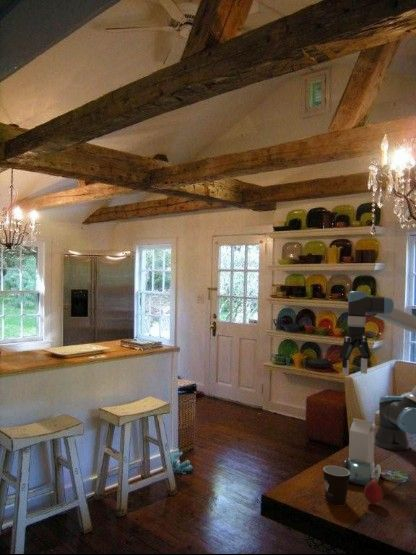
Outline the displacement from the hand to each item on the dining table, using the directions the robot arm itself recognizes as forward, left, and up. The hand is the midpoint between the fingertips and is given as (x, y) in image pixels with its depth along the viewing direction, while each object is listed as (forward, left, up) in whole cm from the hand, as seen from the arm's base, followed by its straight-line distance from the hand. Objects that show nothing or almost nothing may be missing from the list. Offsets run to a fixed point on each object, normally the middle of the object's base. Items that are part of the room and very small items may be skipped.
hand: (354, 374), depth 195 cm
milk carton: (+18, +16, -33) cm, 41 cm away
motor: (+20, +18, -35) cm, 44 cm away
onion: (+36, +33, -35) cm, 60 cm away
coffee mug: (+44, +24, -35) cm, 61 cm away
